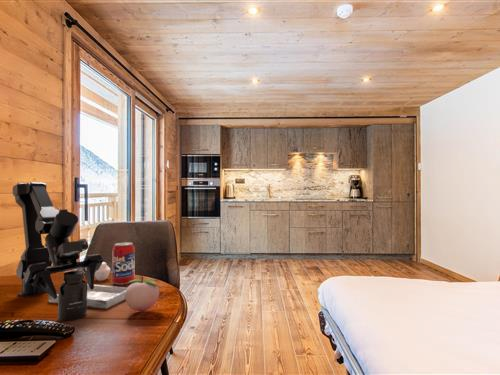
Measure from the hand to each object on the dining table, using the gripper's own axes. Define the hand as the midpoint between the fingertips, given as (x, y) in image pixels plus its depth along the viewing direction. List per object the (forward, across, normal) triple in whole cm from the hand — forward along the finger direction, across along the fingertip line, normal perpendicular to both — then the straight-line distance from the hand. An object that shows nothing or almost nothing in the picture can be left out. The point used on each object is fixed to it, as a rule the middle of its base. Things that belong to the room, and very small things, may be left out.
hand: (75, 293), depth 80 cm
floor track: (-4, +10, +13) cm, 17 cm away
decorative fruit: (+13, +13, -4) cm, 19 cm away
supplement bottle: (+4, 0, +6) cm, 7 cm away
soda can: (-9, +25, +19) cm, 33 cm away
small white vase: (-18, +22, +27) cm, 39 cm away
